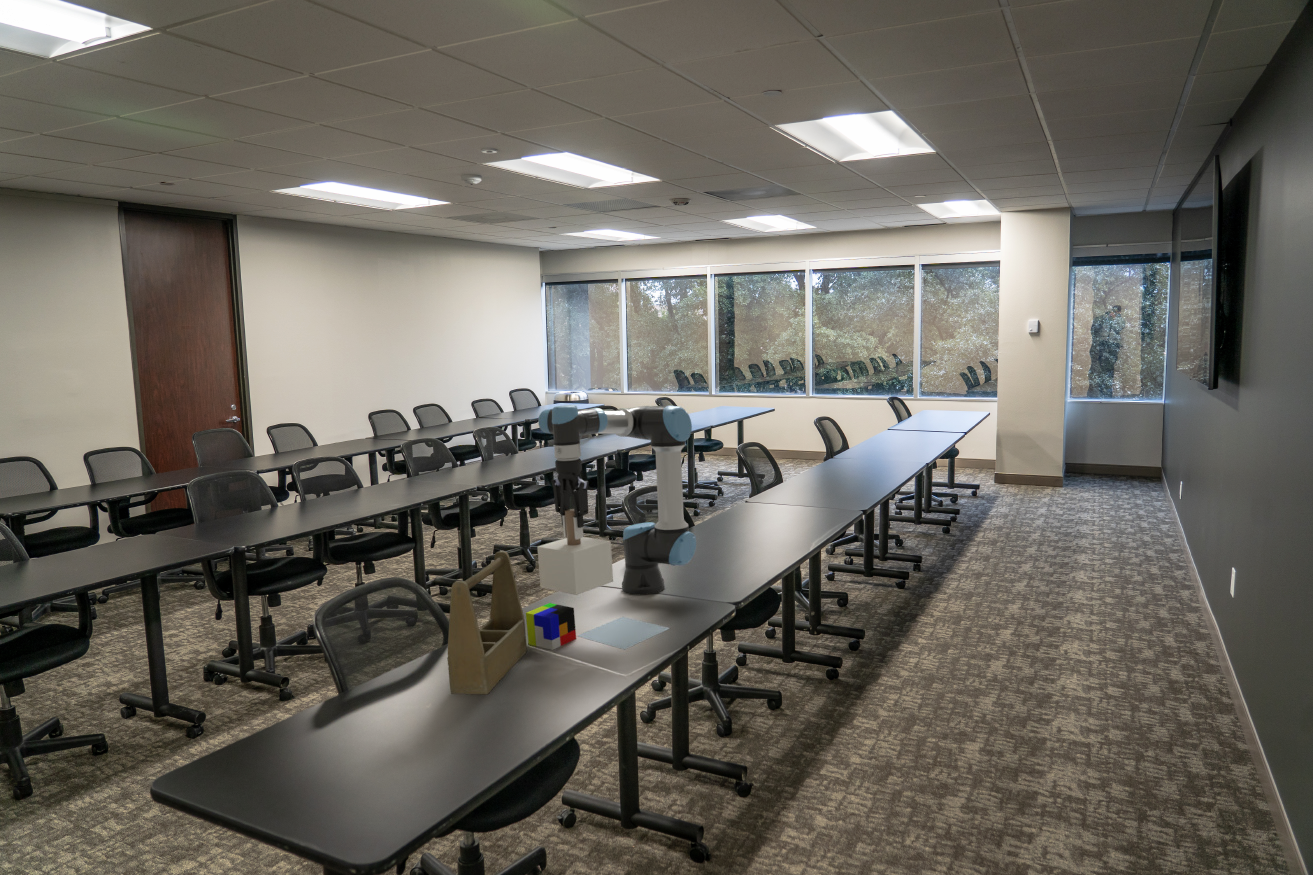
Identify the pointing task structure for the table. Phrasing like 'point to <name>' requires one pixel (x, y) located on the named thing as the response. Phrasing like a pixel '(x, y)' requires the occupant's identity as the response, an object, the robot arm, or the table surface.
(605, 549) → the cover box
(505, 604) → the caddy
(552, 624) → the puzzle toy
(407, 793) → the table surface
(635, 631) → the mat
